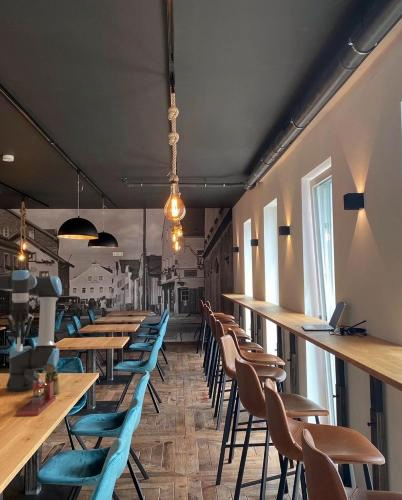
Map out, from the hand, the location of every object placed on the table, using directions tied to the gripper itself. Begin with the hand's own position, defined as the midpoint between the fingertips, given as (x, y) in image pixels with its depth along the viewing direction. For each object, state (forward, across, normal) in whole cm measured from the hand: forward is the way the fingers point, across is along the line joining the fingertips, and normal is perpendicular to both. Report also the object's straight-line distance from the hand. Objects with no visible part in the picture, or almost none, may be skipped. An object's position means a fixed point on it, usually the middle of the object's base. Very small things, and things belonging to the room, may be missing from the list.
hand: (19, 351), depth 206 cm
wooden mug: (+28, +5, +28) cm, 40 cm away
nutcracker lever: (+16, +7, +4) cm, 18 cm away
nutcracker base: (+28, +7, +5) cm, 29 cm away
